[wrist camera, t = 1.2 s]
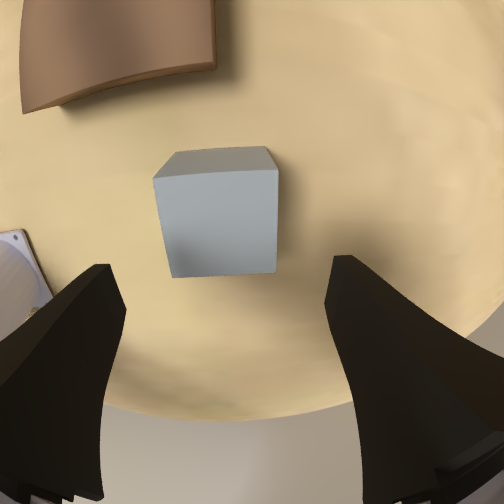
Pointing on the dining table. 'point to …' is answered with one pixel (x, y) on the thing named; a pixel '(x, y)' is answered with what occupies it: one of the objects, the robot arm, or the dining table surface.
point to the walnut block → (109, 45)
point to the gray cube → (219, 211)
